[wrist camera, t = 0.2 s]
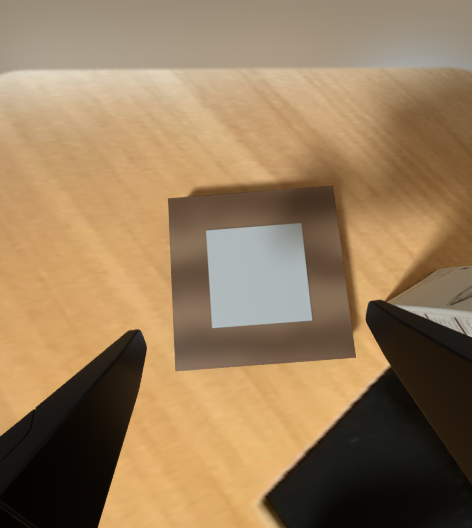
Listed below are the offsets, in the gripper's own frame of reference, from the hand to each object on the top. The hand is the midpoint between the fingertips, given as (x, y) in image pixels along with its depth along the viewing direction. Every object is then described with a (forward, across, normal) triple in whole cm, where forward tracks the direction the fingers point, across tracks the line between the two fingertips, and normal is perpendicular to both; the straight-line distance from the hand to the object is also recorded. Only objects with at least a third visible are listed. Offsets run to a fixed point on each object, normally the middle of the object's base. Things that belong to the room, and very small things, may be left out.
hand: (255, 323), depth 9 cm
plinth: (+14, -1, +6) cm, 15 cm away
